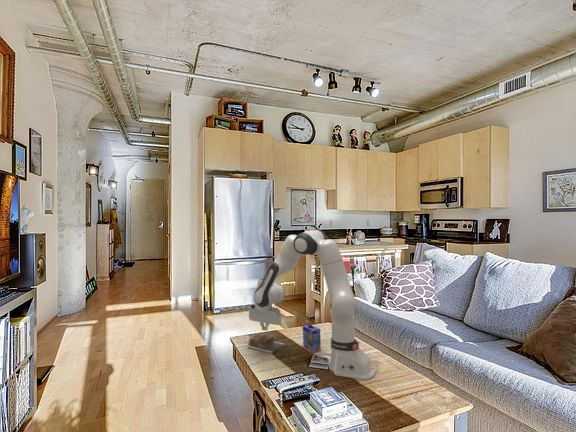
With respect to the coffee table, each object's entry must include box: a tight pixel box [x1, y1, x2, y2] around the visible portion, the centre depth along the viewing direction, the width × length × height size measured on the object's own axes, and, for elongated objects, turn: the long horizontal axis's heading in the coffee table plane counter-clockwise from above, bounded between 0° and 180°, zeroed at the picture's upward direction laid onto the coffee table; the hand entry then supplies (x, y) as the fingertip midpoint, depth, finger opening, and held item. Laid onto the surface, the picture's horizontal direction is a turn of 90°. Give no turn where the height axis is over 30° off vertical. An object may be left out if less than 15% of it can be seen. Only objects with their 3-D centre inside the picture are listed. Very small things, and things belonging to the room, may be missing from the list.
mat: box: [247, 340, 285, 355], centre depth 189 cm, size 16×14×1 cm
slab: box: [248, 333, 274, 349], centre depth 191 cm, size 4×9×11 cm
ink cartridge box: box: [302, 322, 322, 353], centre depth 186 cm, size 10×6×14 cm, turn 35°
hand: (264, 329), depth 190 cm, fingers closed
